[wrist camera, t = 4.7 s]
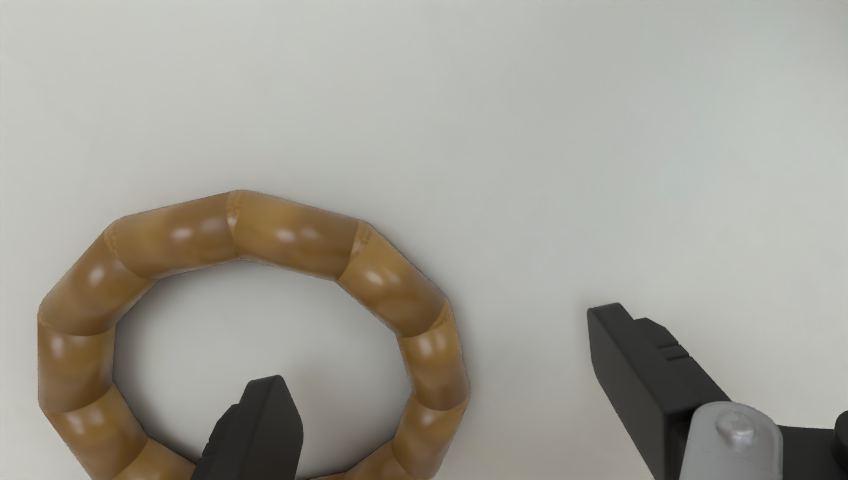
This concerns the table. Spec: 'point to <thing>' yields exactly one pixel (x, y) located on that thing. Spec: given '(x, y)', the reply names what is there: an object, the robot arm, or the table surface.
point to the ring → (217, 244)
